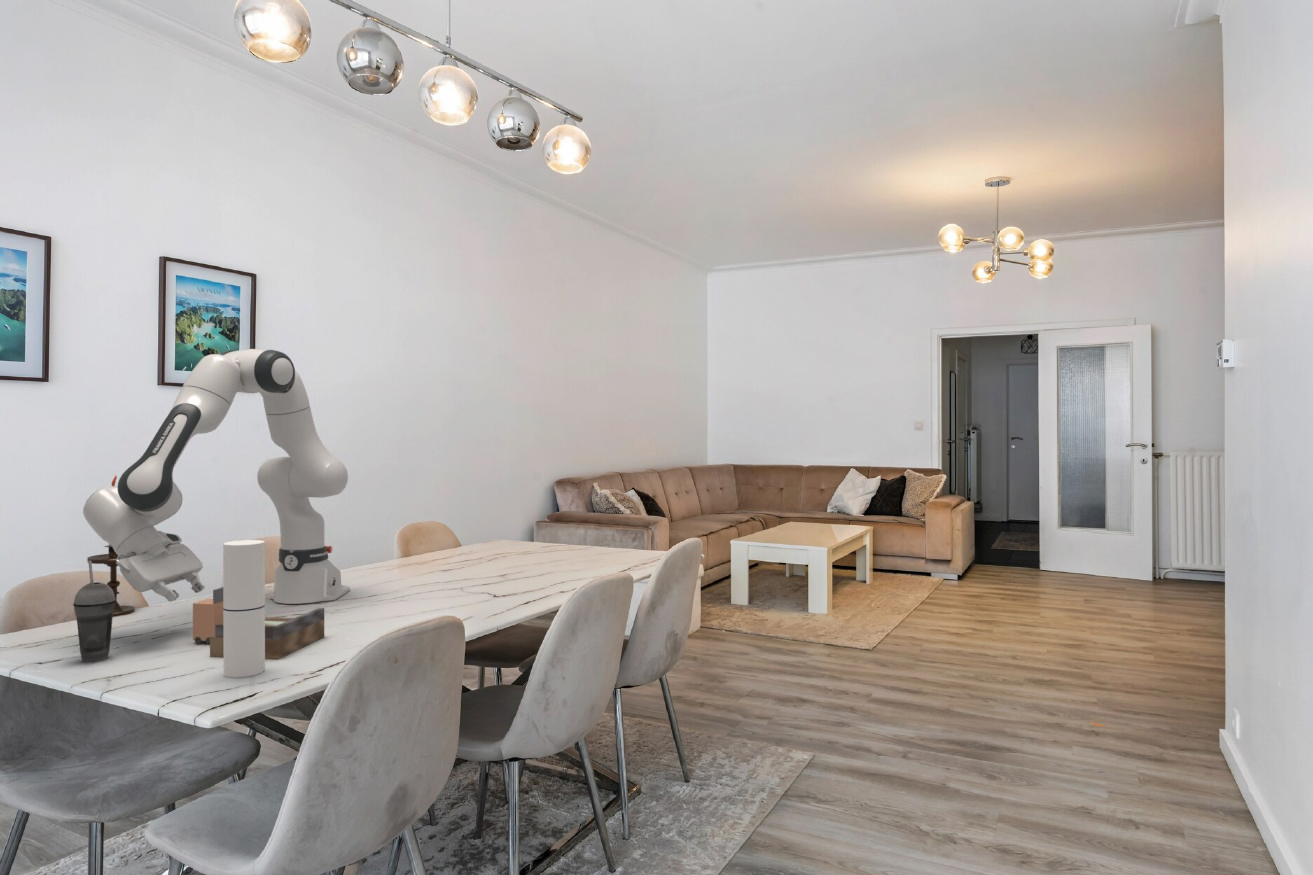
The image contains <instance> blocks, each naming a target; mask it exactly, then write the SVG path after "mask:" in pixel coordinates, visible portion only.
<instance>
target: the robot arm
mask: <svg viewBox="0 0 1313 875" xmlns="http://www.w3.org/2000/svg"><path fill="white" fill-rule="evenodd" d="M237 393H242V394H243V393H245V394H257V393H259V394H260V395H261V397H262V400H263V408H264V413H265V417H266V420H267V421H266V422H267V426H268V429H269V435H270V438H271V440H272V442H273V443H274V445H276V446H278V447H279V448H281V449H282V450H283V451H285V452H286V454H287V455H288V456H279V457H274V458H271V459H267V460H265V461H264V462H262V463H261V465H260V466H259V468H258V470H257V478H256V479H257V483H258V485H259V488H260V489H261V491H263V492H264V493H265V494H266V495H267V496H268V497H269V499H270V500H271V501H272V503H273V505H274V507H275V509H276V512H277V515H278V520H279V528H280V533H279V534H280V548H279V549H278V562H279V565H278V566H277V567H276V568H275V573H274V580H273V581H274V584H273V593H270V594H269V599H271V600H273V601H274V602H275V603H278V604H286V605H290V604H291V605H292V604H293V605H295V604H311V603H312V604H313V603H318V602H327V601H336V600H338V598H340V597H342V596H344V595H345V594H346V593H348V592H349V591H351V587H350V586H349V585H342V574H341V571H340V569H339V568H337V567H336V566H335V564H334V563H332V562H331V561H330V560H329V555H328V554H332V552H333V546H332V545H325V519H324V517H323V516H322V515H321V514H320V513H319V512H318V511H316V509H315V508H314V507H313V506H312V504H311V502H310V499H309V498H317V499H319V498H322V499H323V498H328V497H333V496H337V495H340V494H341V493H342V492H343V491H344V490H345V488H346V487H347V485H348V481H349V475H348V474H349V473H348V469H347V467H346V466H345V464H344V463H343V462H342V461H341V460H339V459H337V458H336V457H335V456H333V455H332V454H331V452H330V451H329V450H328V449H327V448H326V446H325V445H324V443H323V442H322V440H321V438H320V437H319V434H318V432H317V430H316V425H315V421H314V417H313V413H312V410H311V409H312V408H311V405H310V400H309V397H308V392H307V390H306V388H305V385H304V382H303V380H302V377H301V375H300V374H299V373H298V372H297V371H296V369H295V366H294V363H293V361H292V359H291V358H290V357H289V356H288V355H287V354H286V353H284V352H283V351H279V350H275V349H259V348H249V349H241V350H235V349H233V350H232V349H231V350H226V351H224V352H221V353H218V354H215V353H213V354H208V355H205V356H204V357H202V358H201V359H200V360H199V362H197V363H196V365H195V366H194V368H193V369H192V371H191V372H190V373H189V375H188V376H187V378H186V380H185V381H184V383H183V384H182V387H181V389H180V390H179V392H178V395H177V396H176V398H175V401H174V403H173V405H172V408H171V409H170V411H169V412H168V414H167V416H166V417H165V419H164V420H163V422H162V423H161V426H160V427H159V428H158V430H157V432H156V434H155V435H154V437H153V438H152V440H151V442H150V443H149V445H148V447H147V449H146V450H145V451H144V453H143V454H142V455H141V456H140V458H139V459H137V460H136V461H135V462H134V463H133V464H131V465H130V466H129V467H127V469H126V470H125V471H123V473H122V474H121V476H120V477H119V479H118V482H117V486H104V487H102V488H99V489H98V490H96V491H95V492H93V493H92V495H90V496H89V498H88V499H87V500H86V502H85V503H84V505H83V510H82V513H83V516H84V518H85V520H86V522H87V523H88V525H90V526H89V527H91V528H92V530H93V531H94V532H95V533H96V534H97V535H98V536H99V538H101V539H102V540H103V541H104V542H107V543H108V545H109V544H111V546H112V547H113V549H114V551H115V552H116V554H117V555H118V557H117V559H116V561H117V562H116V563H117V565H118V566H117V567H119V571H120V573H121V575H122V577H124V579H125V580H126V582H127V583H128V584H129V585H130V586H131V588H132V589H133V590H134V591H137V592H139V593H144V592H148V591H150V590H152V591H153V592H154V593H156V594H158V595H159V596H161V597H164V598H165V599H166V600H167V601H168V602H169V603H171V602H174V601H176V600H177V599H178V598H179V597H180V594H179V593H178V592H177V590H175V589H171V588H170V587H168V585H170V584H175V583H177V582H181V581H184V580H186V582H188V583H190V585H191V588H190V589H191V590H192V591H193V592H194V593H196V594H197V593H201V592H202V591H203V590H204V589H205V587H206V586H205V584H204V583H203V582H201V579H200V575H199V574H198V573H199V572H201V570H202V569H203V562H202V561H201V560H200V558H199V557H198V556H197V555H196V553H194V552H193V550H191V549H190V547H188V546H187V545H185V544H184V543H182V542H183V539H182V538H181V536H179V534H175V533H169V532H164V531H161V530H157V528H155V527H154V526H156V525H158V524H161V523H163V522H164V521H166V520H168V519H170V518H171V517H173V516H174V515H176V514H177V513H178V511H179V510H180V509H181V507H182V504H183V494H182V491H181V490H180V489H179V487H178V485H177V484H176V483H175V482H174V477H173V473H174V468H175V466H176V464H177V462H178V461H179V459H180V457H181V455H182V454H183V452H184V451H185V448H186V447H187V446H188V444H189V443H190V440H191V439H192V438H193V437H194V436H196V435H197V434H198V435H199V434H201V435H202V434H203V435H204V434H208V433H212V432H213V431H215V430H217V428H218V427H219V426H220V425H221V424H222V423H223V421H224V419H225V418H226V416H227V414H228V412H229V411H230V408H231V406H232V404H233V401H234V399H235V397H236V394H237Z"/></svg>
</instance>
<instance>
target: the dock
mask: <svg viewBox="0 0 1313 875" xmlns="http://www.w3.org/2000/svg"><path fill="white" fill-rule="evenodd" d="M320 638H321V639H323V638H325V607H318V608H315V609H313V610H311V611H308V612H306V613H304V614H301V615H298V616H296V617H273V616H271V617H269V616H265V660H268V659H269V660H279V659H282V658H284V657H286V656H288V655H290V654H292V653H294V652H297V651H298V650H300V649H302V648H304V647H306V645H307V646H309V645H310V643H311V644H313V643H315V642H317V641H319V640H321V639H320ZM314 641H315V642H314ZM291 652H292V653H291ZM209 657H211V658H212V657H215V658H216V657H217V658H224V650H223V624H217V625H215V635H214V636H211V637H210V645H209ZM281 657H282V658H281Z"/></svg>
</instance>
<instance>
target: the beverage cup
mask: <svg viewBox="0 0 1313 875" xmlns="http://www.w3.org/2000/svg"><path fill="white" fill-rule="evenodd" d="M87 564H88V570H89V571H88V572H89V580H90V581H89V582H90V583H88V584H85V585H84V586H81V588H80V589H78V591H77V592H76V594H75V596H74V601H73V605H72V606H73V609H74V613H75V616H76V625H77V634H78V636H77V637H78V644H79V653H80V658H81V663H85V662H91V663H98V662H103V661H106V660H108V659H109V654H110V651H111V650H110V649H111V639H112V630H113V628H112V627H113V612H114V608H115V602H116V599H115V594H114V592H113V590H112V589H111V588H110V587H109V586H108V585H107V583H104V582H99V581H98V582H94V573H93V565H92V563H91V561H88V562H87Z"/></svg>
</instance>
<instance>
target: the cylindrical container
mask: <svg viewBox="0 0 1313 875" xmlns="http://www.w3.org/2000/svg"><path fill="white" fill-rule="evenodd" d="M222 544H223V546H222V547H223V548H222V549H223V550H222V551H223V552H222V554H223V556H222V557H223V558H222V560H223V561H222V566H223V568H222V570H223V571H222V573H223V576H222V577H223V579H222V580H223V581H222V582H223V583H222V585H223V586H222V587H223V608H224V609H223V650H224V657H223V676H224V677H226V678H233V679H234V678H236V679H240V678H247V677H252V676H256V675H259V673H260V674H262V673H263V671H264V672H265V670H266V659H265V617H266V598H265V596H266V592H265V591H266V581H265V580H266V579H265V578H266V571H265V570H266V566H265V564H266V559H265V558H266V552H265V551H266V550H265V549H266V546H265V545H266V542H265V540H262V539H261V540H259V539H245V540H242V539H241V540H234V541H233V540H231V541H227V542H224V543H222Z"/></svg>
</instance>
